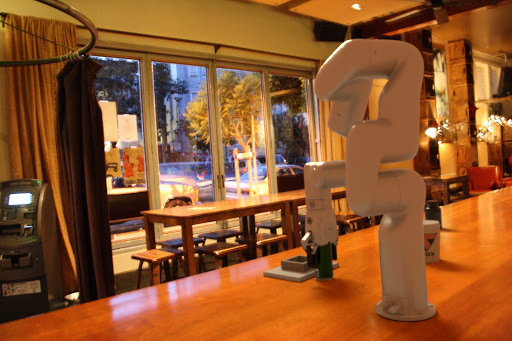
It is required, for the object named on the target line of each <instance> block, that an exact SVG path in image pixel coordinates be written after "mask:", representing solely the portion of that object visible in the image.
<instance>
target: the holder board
mask: <svg viewBox="0 0 512 341" xmlns="http://www.w3.org/2000/svg"><path fill="white" fill-rule="evenodd" d="M332 262H333V269H336V268H338V267H339V266H340V263H339V262H336V261H332ZM262 272H263V274H262V275H263V277H269V278H274V279H280V280H285V281H292V282H298V283H301V282H303V281H305V280H308V279H312V278H313V277H315V273H314V268H311V267H308V266H307V255H304V254H297V255H294V256H291V257H287V258H284V259H282V260H280V265H279V266H277V267H273V268H271V269H268V270H264V271H262Z"/></svg>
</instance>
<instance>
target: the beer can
mask: <svg viewBox="0 0 512 341" xmlns="http://www.w3.org/2000/svg"><path fill="white" fill-rule="evenodd" d="M312 243H313V242H312ZM315 254H317V264H318V267H317V268H314V273H315V276H314V277H315V280H316V281H322V282H323V281H324V282H326V281H327V282H328V281H332V280H333V279H334V268H333V262H334V261H333V260H332V247H331V243H330V241H329V242H328V244H326V245H324V246H318V247H317V250H316V252H315Z"/></svg>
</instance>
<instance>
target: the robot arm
mask: <svg viewBox="0 0 512 341" xmlns="http://www.w3.org/2000/svg"><path fill="white" fill-rule="evenodd" d="M424 74H425V64H424V58H423V56H422V53H421V52H420V50H419V49H418V48H417V47H416V46H415V45H413V44H412V43H409V42H406V41H403V40H402V41H401V40H395V39H371V38H368V39H367V38H353V39H352V38H351V39H349V40H345V41H344V42H343V43H342V44H340V45H339V47H338V48H337V49H335V51H334V52H333V53H331V55H330V56H329V57H328V58H327V59H326V60H325V62H323V64H322V65H321V67H320V68H319V69H318V72H317V73H316V76H315V79H314V84H313V86H314V87H313V88H314V89H313V90H314V94H315V96H316V98H317V99H318V100H320V101H322V102H331V107H330V111H329V115H328V119H327V128H328V129H329V130H330V131H331V132H332V133H334V134H336V135H338V136H340V137H342V138H345V139H346V140H345V159H338V160H326V161H313V162H312V161H311V162H307V163H304V166H303V182H304V194H305V195H304V197H305V219H304V221H305V222H304V230H305V231H304V234H305V235H304V236H303V237H302V238H301V240H300V244H301V246H302V249H303V251H304V254H306V256H307V266H308V267H311V268H317V267H318V264H317V254H315V252H316V250H317V247H318V246H324V245H326V244H328V242H329V241H330V243H331V247H332V261H334V262H336V261H337V260H338V250H337V248H338V244H339V243H338V241H339V236H340V229H338V225H337V224H338V223H337V218H336V212H335V209H334V207H333V198H332V196H333V195H332V193H333V192H332V190H333V189H340V188H345V196H346V197H345V198H346V201H347V205H348V207H349V209H350V211H352V213H354V214H355V215H357V216H359V217H375V216H382V215H383V216H382V218H381V220H380V223H379V227H378V231H377V232H378V235H377V236H378V251H379V254H378V255H379V269H380V282H381V300H380V301H378V302H377V303H376V304H375V306H374V311H375V313H376V314H377V315H380V316H381V317H383V318H386V319H388V320H389V319H390V320H393V321H400V322H411V321H412V322H415V321H424V320H428V319H430V318H433V317H434V316H435V315H436V312H437V308H436V306H435V304H434V303H432V302H431V301H428V300H429V299H428V287H427V286H428V285H427V283H428V282H427V272H426V271H427V270H426V263H425V250H424V231H423V220H424V215H425V211H424V209H425V205H426V197H427V186H426V183H425V180H424V178H423V177H422V175H421V174H420V173H419V172H417V171H415V170H413V169H411V168H405V167H400V168H399V167H397V168H386V169H380V165H385V164H387V165H389V164H397V163H403V162H407V161H411V160H412V159H414V158H415V157H416V156H417V155H418V151H419V146H420V124H421V123H420V121H421V120H420V118H421V108H420V107H421V102H420V101H421V91H422V86H423V85H422V84H423V82H424ZM374 80H387V81H386V82H385V84H384V86H383V87H382V89H381V91H380V94H379V96H378V100H377V103H378V104H377V105H378V107H377V108H378V111H377V112H378V113H377V118H376V119H375V118H374V119H372V118H371V119H364V118H365V114H366V110H367V106H368V104H369V100H370V96H371V92H372V89H373V84H374ZM312 242H313V243H312Z"/></svg>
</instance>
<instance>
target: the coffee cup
mask: <svg viewBox="0 0 512 341" xmlns="http://www.w3.org/2000/svg"><path fill="white" fill-rule="evenodd" d="M423 231H424V250H425V264H429V263H437V262H440V259H441V258H440V257H441V255H440V254H441V251H440V250H441V229H440V224H439V222H438V221H433V220H425V219H423Z"/></svg>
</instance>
